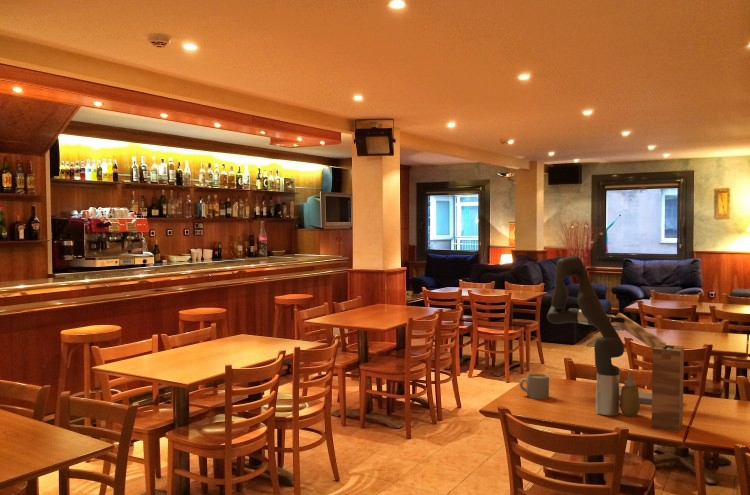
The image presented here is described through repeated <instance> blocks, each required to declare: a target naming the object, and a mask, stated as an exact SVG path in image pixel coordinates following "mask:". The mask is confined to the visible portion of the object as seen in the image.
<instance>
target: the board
mask: <svg viewBox="0 0 750 495" xmlns="http://www.w3.org/2000/svg"><path fill="white" fill-rule="evenodd" d="M621 391H622V389H619V401H620V399H621ZM638 392H639V403H640V404H644V405H651V406H652V392H651V393H650V392H642V391H638Z"/></svg>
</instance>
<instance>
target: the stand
mask: <svg viewBox="0 0 750 495" xmlns="http://www.w3.org/2000/svg"><path fill="white" fill-rule="evenodd" d="M667 348H672V350H668V349H667ZM684 350H685V346H683V345H682V346H680V345H670V344H666V345H662V344H657V345H656V346H655V347H654V348H653V349H652V374H651V375H652V376H651V377H652V378H651V381H652V383H651V386H652V388H651V393H652V405H651V429H658V430H663V431H668V430H669V432H675V431H677V432H676V433H680V431H681V429H682V427H683V425H682V424H684V421H683V419H684V414H683V413H684V374H685V373H684V371H685V370H684V368H685V367H684V366H685V365H684V358H685V355H684V354H685V351H684Z"/></svg>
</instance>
